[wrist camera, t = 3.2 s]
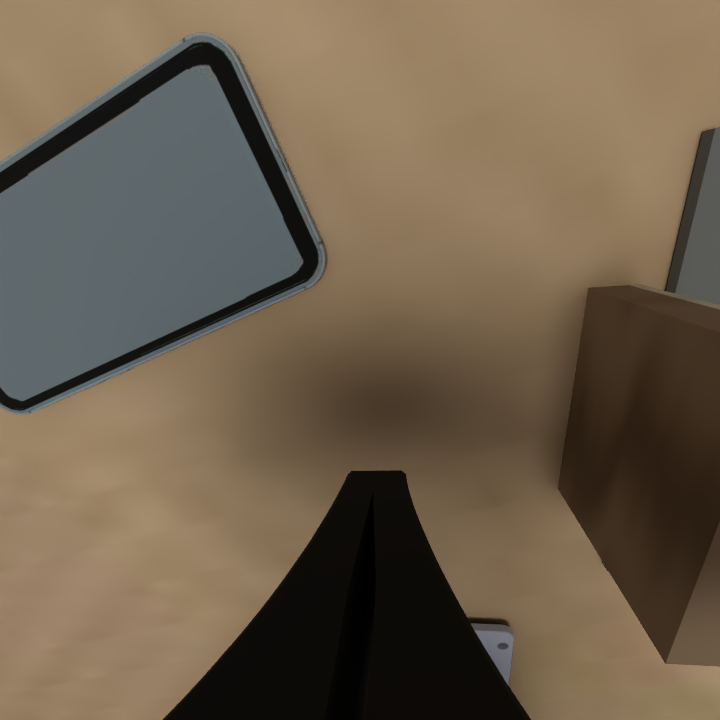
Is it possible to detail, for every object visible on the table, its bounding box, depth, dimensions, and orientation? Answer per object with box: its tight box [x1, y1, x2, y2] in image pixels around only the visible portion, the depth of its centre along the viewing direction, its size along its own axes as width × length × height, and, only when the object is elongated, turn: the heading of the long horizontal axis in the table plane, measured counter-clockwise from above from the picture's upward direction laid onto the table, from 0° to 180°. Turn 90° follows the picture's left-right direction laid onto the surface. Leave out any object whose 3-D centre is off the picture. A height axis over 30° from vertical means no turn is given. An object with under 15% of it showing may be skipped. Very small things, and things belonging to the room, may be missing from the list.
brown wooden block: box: [558, 285, 720, 666], centre depth 10 cm, size 8×2×6 cm, turn 5°
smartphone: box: [0, 33, 327, 415], centre depth 12 cm, size 7×1×15 cm
